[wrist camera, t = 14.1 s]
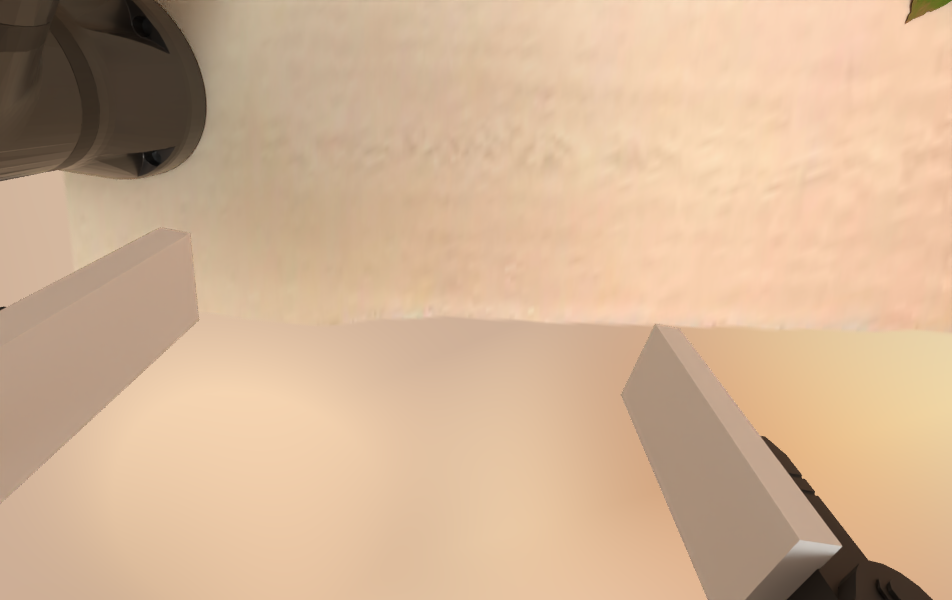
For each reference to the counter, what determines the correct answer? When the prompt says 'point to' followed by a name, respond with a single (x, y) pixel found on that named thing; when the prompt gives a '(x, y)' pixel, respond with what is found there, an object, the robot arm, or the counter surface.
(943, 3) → the lily flower
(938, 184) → the counter surface
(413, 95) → the counter surface
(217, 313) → the counter surface
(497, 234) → the counter surface
